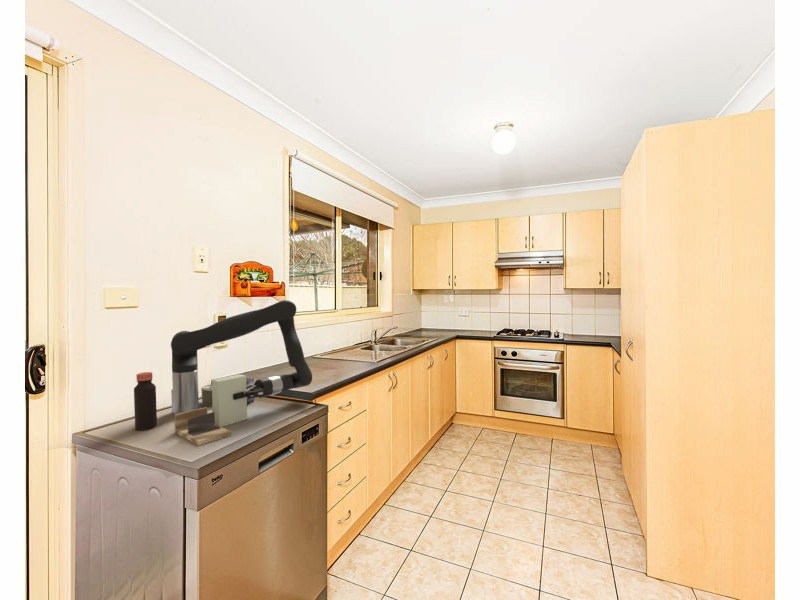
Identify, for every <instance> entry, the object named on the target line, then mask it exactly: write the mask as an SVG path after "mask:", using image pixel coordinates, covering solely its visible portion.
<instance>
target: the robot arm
mask: <svg viewBox="0 0 800 600" xmlns="http://www.w3.org/2000/svg"><path fill="white" fill-rule="evenodd" d="M296 314H297V305H296V303H294V302H293V301H292V300H288V299H283V300H280V301H278V302H276V303H273V304H271V305H268V306H266V307H263V308H261V309H256V310H252V311H247V312H243V313H239V314H237V315H233V316H230V317H226V318H224V319H221V320H220V321H217V322H215V323H213V324H211V325H209V326H207V327H204V328H200V329H196V330H192V331H189V330H181V331H179V332H176V334H174V335H173V337H172V339H171V342H170V348H171V368H172V369H171V377H172V378H171V379H172V380H171V381H172V388H171V391H170V392H171V394H170V395H171V396H170V397H171V413H173V415H174V416H175V415H176V414H180V413H184V412H188V411H192V410H196V409H200V408H199V407H200V406H199V403H200V402H199V374H198V372H199V371H198V370H199V368H198V366H199V365H198V351H199V350H202V349H204V348H207V347H209V346H211V345H214V344H215V345H216V344H217V343H222V342H227V341H230V340H233V339H237V338H240V337H242V336H245V335H248V334H251V333H252V332H255V331H258V330H260V329H261V328H263V327H265V326H267V325H270V324H273V323H277V324H278V326H279V328H280V331H281V334H282V338H283V341H284V342H283V344H284V346H285V351H286V356H287V357H286V358H287V359H288V365H289V366H290V367H291V368H294V369H295V371H296V372H295V371H294V372H291V373H287V374H280V375H276V376H275V375H274V376H269V377H263V378H259V379H256V380H254V385H248V386H246V388H247V391H244V392H240V393H235V394H233V399H234V400H237V399H241V398H247V399H250V398H254V399H255V398H260V399H262V398H267V397H270V396H274V395H277V394H279V393H284V392H286V391H290V390H292V389H293V388H294V389H298V388H303V387H307V386H310V384H311V383H312V381H313V373H312V371H311V368H310V367H309V364H308V363H307V361H306V359H305V355H304V354H305V353H304V351H303V348H302V344H301V341H300V338H299V336H298V333H297V331H296V326H295V316H296Z"/></svg>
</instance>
